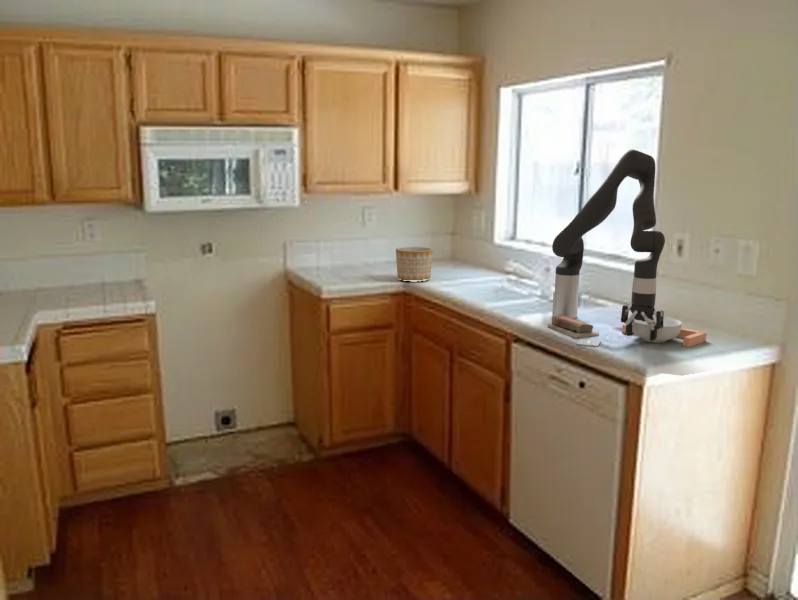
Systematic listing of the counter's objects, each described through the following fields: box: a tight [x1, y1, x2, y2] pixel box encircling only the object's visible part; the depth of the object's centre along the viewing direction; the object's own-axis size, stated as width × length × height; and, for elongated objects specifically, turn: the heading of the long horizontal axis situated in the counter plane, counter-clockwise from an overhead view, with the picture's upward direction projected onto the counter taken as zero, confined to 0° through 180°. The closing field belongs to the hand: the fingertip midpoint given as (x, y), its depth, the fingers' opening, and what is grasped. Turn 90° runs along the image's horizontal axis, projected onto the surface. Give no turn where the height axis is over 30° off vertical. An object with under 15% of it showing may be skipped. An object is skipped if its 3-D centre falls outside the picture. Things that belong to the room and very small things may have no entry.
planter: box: [395, 246, 434, 280], centre depth 354 cm, size 19×19×16 cm
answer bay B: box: [621, 323, 708, 348], centre depth 239 cm, size 12×25×3 cm, turn 40°
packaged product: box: [547, 315, 600, 339], centre depth 247 cm, size 18×5×10 cm
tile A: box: [576, 338, 602, 348], centre depth 230 cm, size 7×7×1 cm
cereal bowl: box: [632, 315, 683, 344], centre depth 235 cm, size 17×17×7 cm
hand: (640, 337), depth 229 cm, fingers open, 8 cm apart
